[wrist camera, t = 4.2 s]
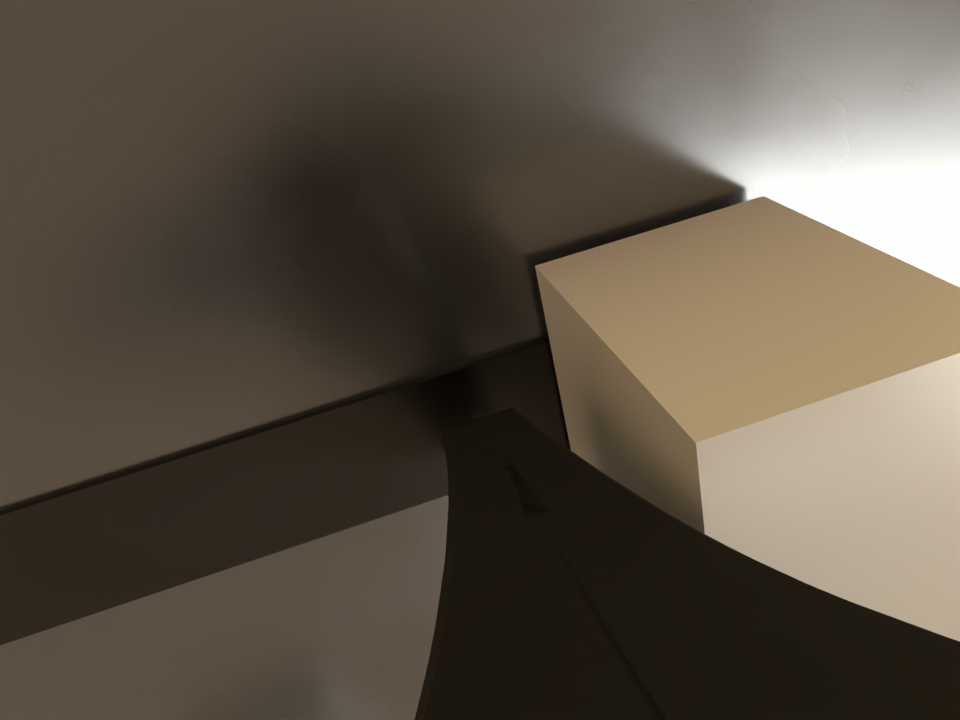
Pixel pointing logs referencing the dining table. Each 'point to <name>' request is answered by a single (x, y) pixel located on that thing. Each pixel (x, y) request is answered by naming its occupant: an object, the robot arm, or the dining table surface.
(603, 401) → the breaker
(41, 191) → the breaker panel
